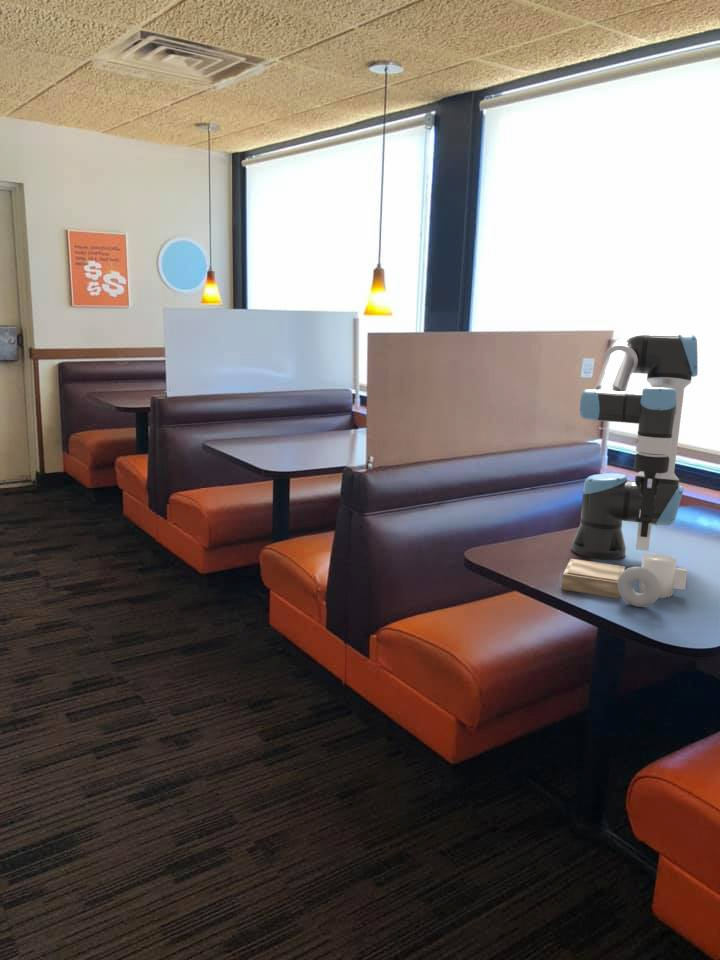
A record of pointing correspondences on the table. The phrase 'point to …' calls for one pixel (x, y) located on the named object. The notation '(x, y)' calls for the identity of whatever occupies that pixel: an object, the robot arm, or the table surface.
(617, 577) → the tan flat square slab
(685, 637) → the table surface
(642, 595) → the donut
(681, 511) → the table surface
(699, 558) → the table surface
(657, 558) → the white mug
